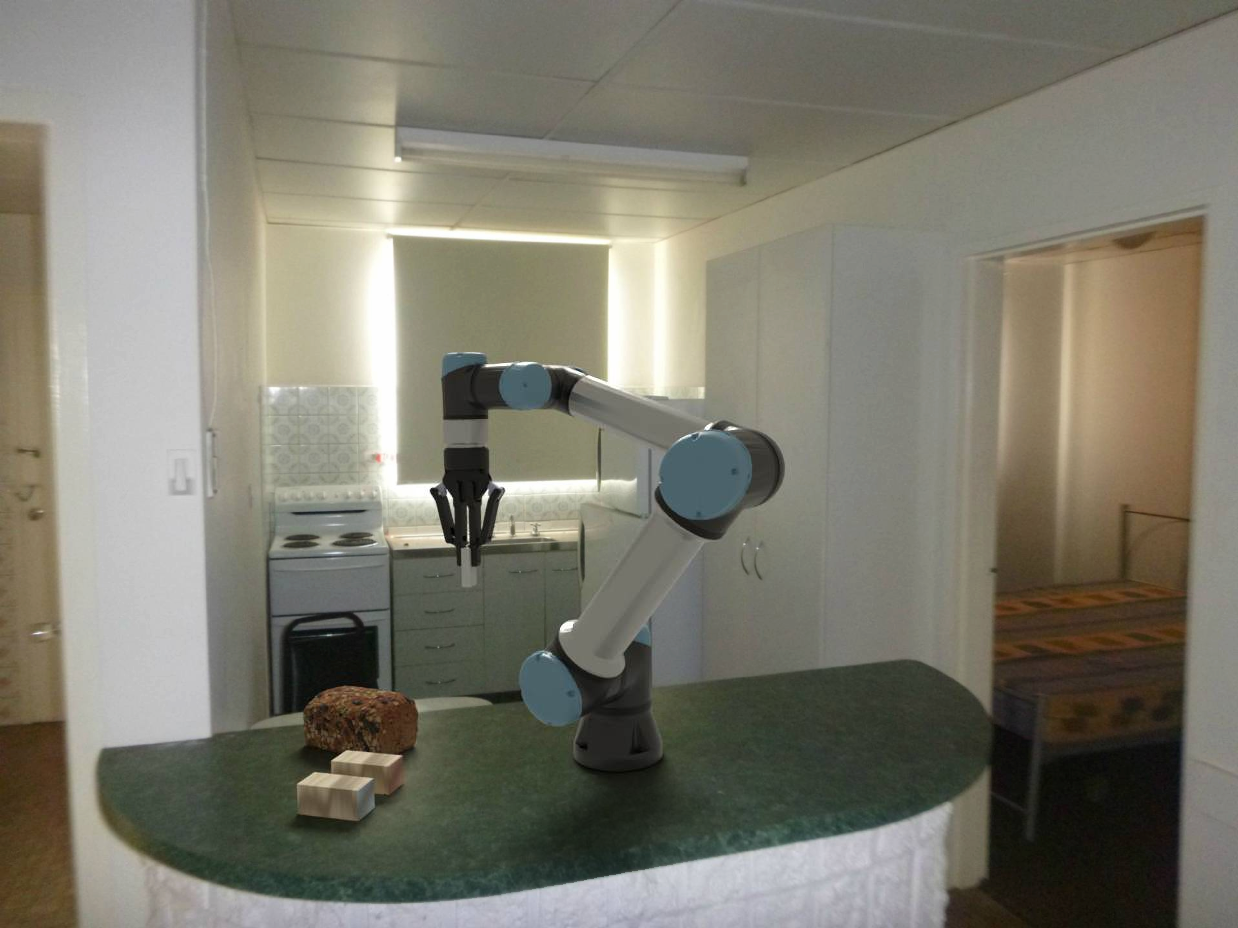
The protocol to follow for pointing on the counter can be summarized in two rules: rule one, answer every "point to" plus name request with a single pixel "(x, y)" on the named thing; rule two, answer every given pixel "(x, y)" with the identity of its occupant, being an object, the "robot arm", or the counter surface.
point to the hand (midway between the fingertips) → (469, 585)
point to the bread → (361, 721)
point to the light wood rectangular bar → (335, 796)
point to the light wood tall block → (371, 769)
